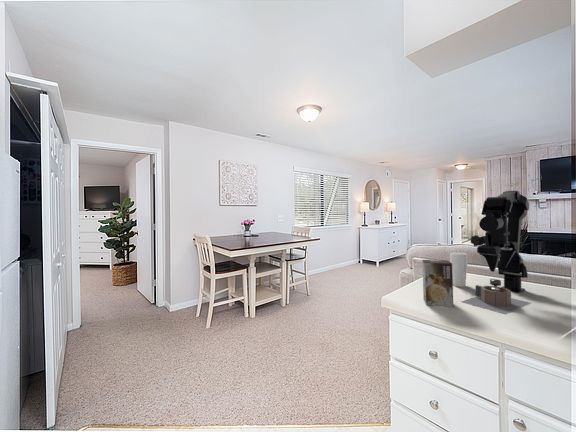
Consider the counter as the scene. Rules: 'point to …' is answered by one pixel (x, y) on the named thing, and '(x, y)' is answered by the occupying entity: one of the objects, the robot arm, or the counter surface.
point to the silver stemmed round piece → (495, 284)
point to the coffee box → (437, 283)
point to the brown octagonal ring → (494, 295)
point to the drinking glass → (459, 268)
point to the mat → (500, 309)
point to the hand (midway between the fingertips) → (498, 269)
